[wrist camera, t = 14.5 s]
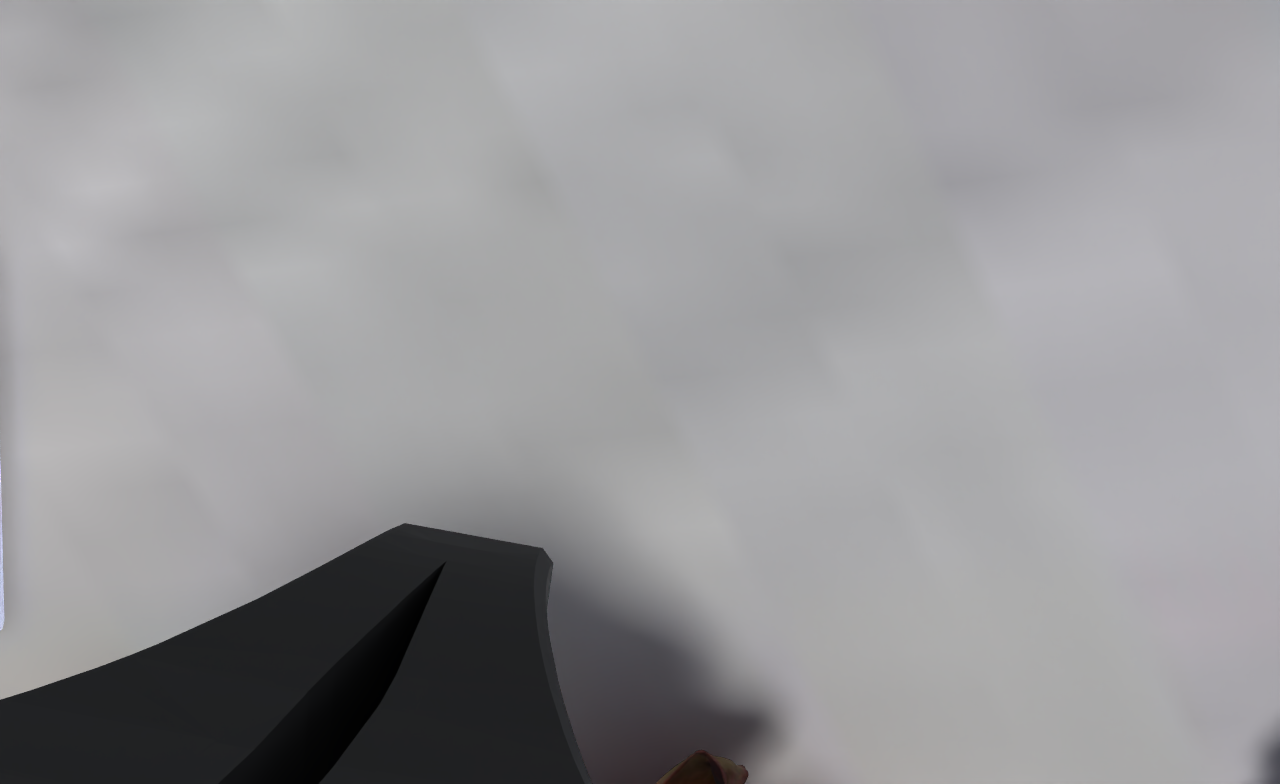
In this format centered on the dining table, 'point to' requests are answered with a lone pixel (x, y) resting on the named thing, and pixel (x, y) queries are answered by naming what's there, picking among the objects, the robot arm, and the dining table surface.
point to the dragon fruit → (705, 771)
